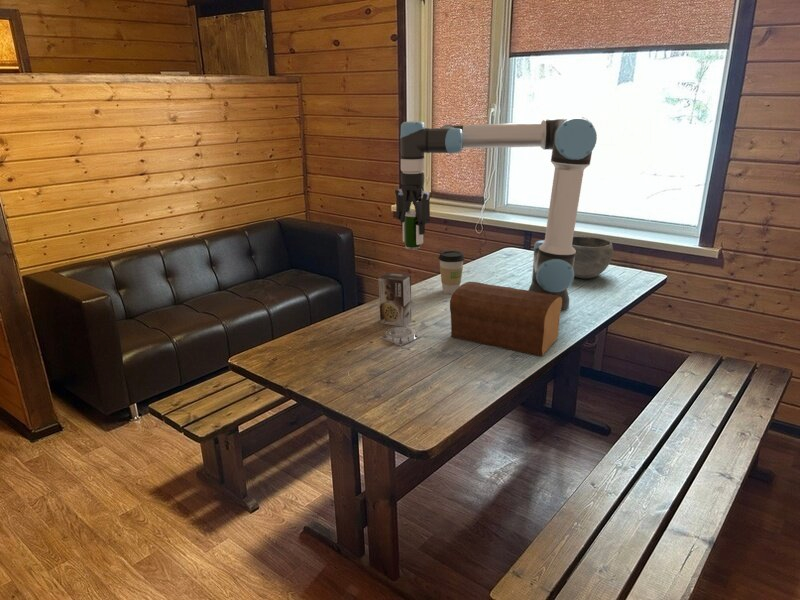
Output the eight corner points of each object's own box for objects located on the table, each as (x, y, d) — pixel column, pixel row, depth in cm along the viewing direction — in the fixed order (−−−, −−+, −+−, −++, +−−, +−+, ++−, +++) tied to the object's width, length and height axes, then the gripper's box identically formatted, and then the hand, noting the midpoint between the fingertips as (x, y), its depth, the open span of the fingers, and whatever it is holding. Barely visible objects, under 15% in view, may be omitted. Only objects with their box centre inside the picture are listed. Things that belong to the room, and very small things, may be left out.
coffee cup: (464, 295, 217) (465, 257, 212) (438, 295, 218) (438, 257, 212) (462, 287, 227) (463, 249, 221) (437, 287, 227) (437, 250, 222)
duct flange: (421, 337, 182) (421, 332, 181) (400, 346, 176) (400, 340, 175) (400, 329, 188) (400, 324, 187) (379, 337, 182) (379, 332, 181)
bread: (541, 359, 166) (545, 307, 161) (447, 339, 181) (448, 290, 175) (560, 337, 181) (564, 288, 175) (472, 319, 195) (473, 274, 190)
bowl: (617, 284, 228) (621, 246, 222) (563, 284, 228) (566, 247, 223) (600, 268, 247) (604, 233, 242) (550, 268, 248) (553, 234, 242)
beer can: (403, 249, 193) (402, 213, 189) (407, 245, 198) (406, 210, 194) (418, 250, 192) (418, 214, 188) (422, 245, 197) (422, 210, 193)
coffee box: (412, 320, 195) (411, 274, 189) (404, 327, 189) (403, 280, 184) (387, 316, 199) (386, 271, 193) (379, 323, 193) (378, 277, 188)
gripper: (442, 172, 183) (441, 244, 191) (399, 168, 195) (400, 236, 203) (426, 175, 178) (426, 249, 186) (383, 170, 189) (385, 240, 197)
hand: (412, 242), depth 194 cm, fingers closed on beer can, 5 cm apart
